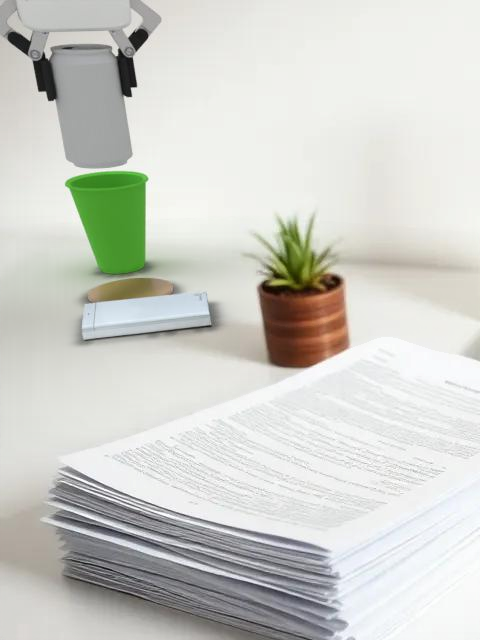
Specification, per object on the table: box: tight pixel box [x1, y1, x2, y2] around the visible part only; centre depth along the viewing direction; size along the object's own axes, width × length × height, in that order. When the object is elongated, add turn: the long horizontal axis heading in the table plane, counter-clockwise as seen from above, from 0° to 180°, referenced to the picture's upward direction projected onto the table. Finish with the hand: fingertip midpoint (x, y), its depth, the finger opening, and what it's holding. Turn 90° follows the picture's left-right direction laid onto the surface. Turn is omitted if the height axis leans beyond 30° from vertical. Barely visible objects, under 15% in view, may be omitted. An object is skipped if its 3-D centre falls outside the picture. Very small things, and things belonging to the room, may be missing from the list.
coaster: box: [87, 277, 174, 303], centre depth 130 cm, size 9×9×1 cm
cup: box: [64, 170, 149, 275], centre depth 137 cm, size 9×9×11 cm
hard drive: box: [81, 290, 212, 341], centre depth 122 cm, size 2×8×12 cm
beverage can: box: [48, 43, 133, 170], centre depth 117 cm, size 6×6×12 cm
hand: (89, 95), depth 116 cm, fingers closed on beverage can, 6 cm apart
